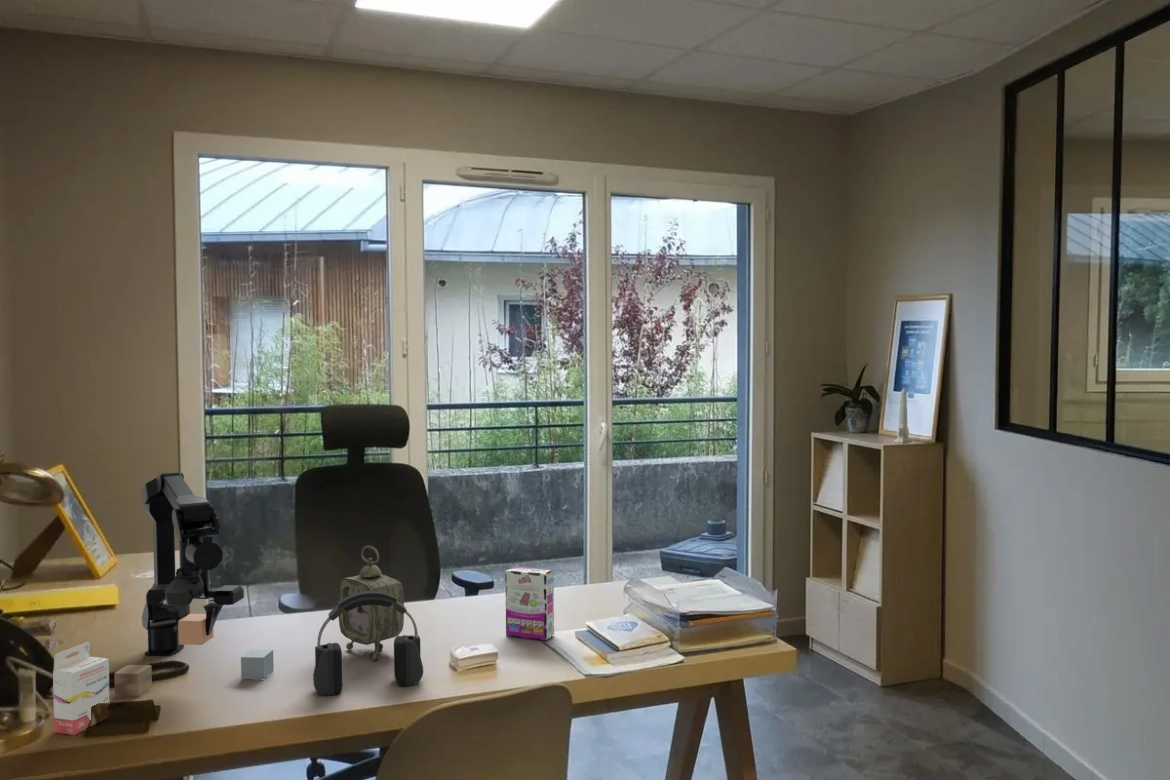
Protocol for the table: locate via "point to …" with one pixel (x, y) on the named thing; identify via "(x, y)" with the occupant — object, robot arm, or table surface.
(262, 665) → the slate grey cube
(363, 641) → the tabletop clock
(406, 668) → the headphones
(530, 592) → the candy bar box
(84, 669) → the ink cartridge box
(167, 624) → the robot arm
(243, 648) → the table surface
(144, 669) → the walnut cube
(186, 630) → the terracotta cube
